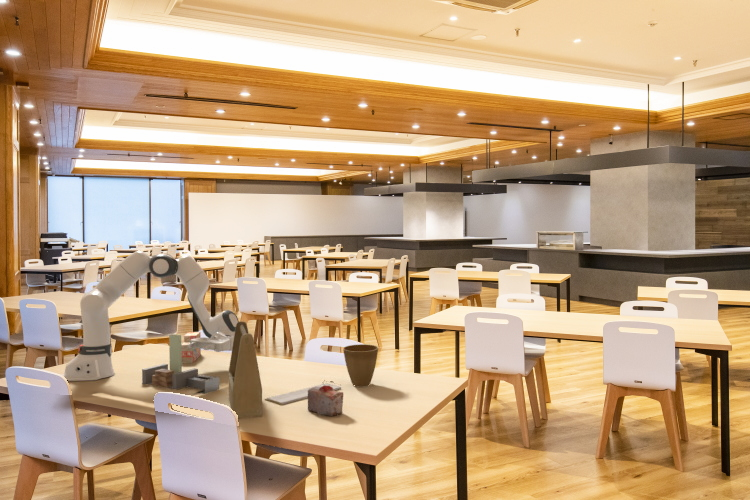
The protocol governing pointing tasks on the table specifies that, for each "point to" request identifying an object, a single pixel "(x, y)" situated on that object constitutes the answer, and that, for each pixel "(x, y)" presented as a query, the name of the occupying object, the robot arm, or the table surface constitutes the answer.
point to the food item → (325, 400)
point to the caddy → (244, 375)
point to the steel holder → (204, 383)
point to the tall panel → (175, 353)
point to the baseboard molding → (296, 394)
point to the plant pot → (360, 363)
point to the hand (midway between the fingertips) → (197, 347)
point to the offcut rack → (177, 378)
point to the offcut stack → (163, 378)
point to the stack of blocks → (190, 353)
